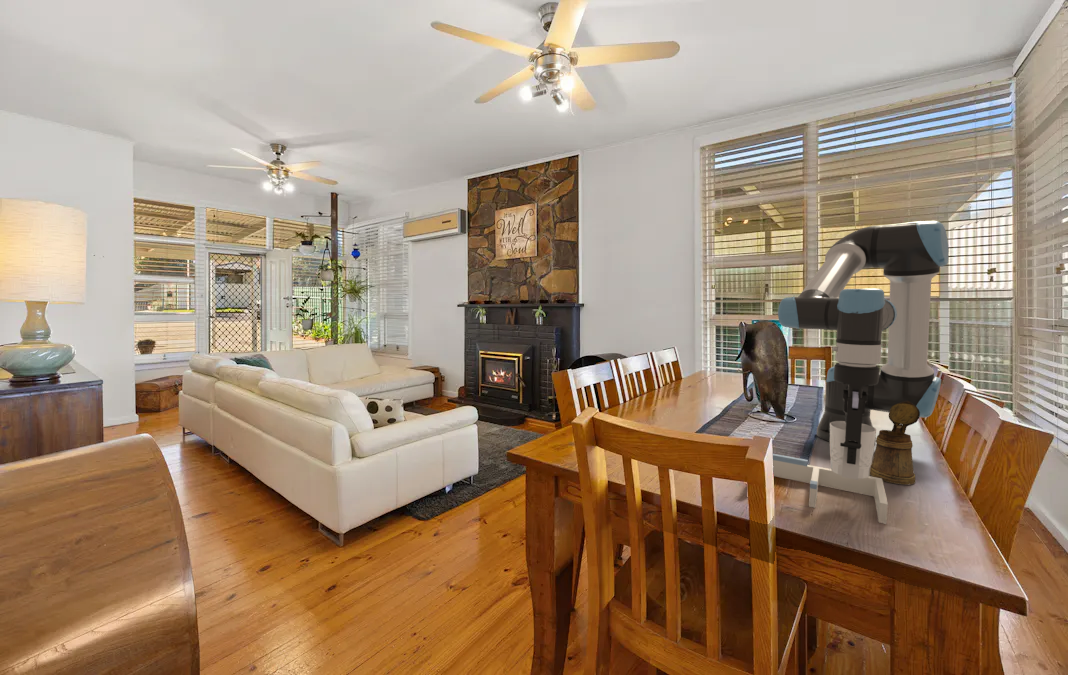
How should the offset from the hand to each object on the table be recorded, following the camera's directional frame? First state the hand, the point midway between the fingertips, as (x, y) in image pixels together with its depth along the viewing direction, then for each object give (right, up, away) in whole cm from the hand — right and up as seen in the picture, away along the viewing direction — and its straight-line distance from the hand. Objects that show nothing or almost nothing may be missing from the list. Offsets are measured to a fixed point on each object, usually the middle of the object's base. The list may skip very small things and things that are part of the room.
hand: (849, 470), depth 94 cm
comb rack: (-4, -7, +6) cm, 10 cm away
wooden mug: (+23, -6, +17) cm, 29 cm away
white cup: (0, -1, 0) cm, 1 cm away
